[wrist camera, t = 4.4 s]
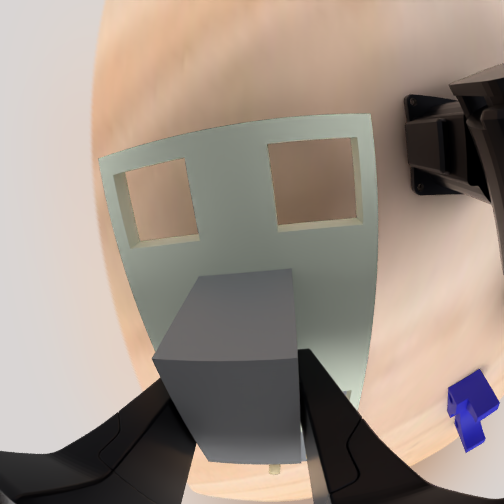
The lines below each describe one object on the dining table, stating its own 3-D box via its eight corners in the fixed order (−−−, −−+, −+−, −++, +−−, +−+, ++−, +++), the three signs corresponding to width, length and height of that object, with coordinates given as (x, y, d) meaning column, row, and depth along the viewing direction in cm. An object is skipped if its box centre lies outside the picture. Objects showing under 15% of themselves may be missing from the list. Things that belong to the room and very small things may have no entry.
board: (362, 116, 7) (444, 92, 3) (351, 414, 12) (363, 489, 8) (110, 156, 8) (6, 178, 4) (197, 419, 13) (177, 488, 9)
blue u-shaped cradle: (447, 386, 22) (465, 424, 16) (478, 367, 21) (499, 402, 15) (445, 427, 25) (456, 458, 20) (470, 412, 24) (483, 442, 19)
